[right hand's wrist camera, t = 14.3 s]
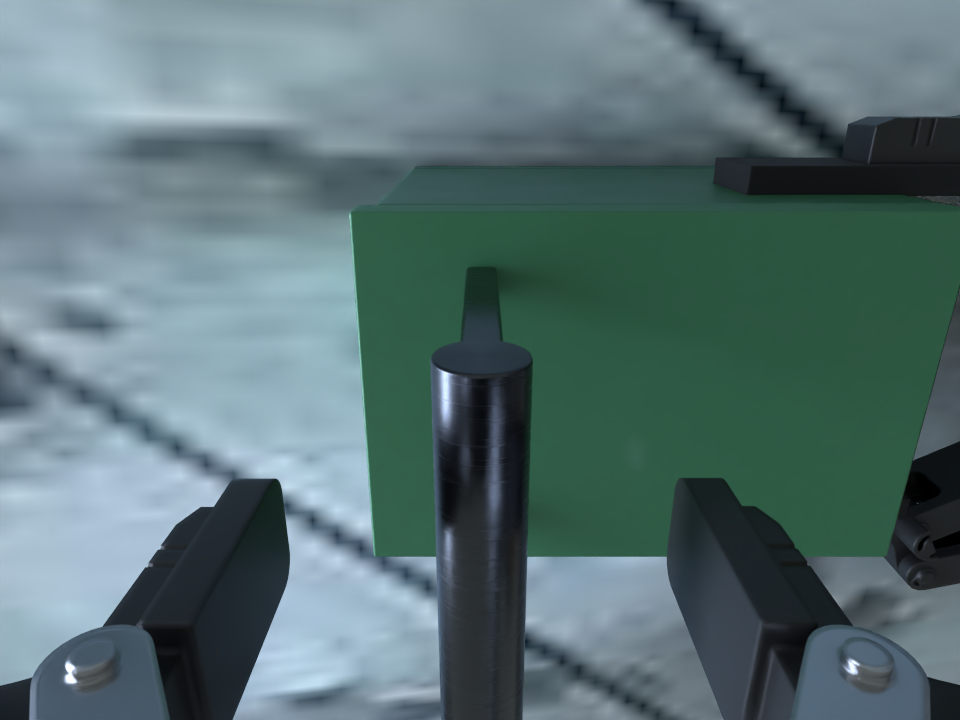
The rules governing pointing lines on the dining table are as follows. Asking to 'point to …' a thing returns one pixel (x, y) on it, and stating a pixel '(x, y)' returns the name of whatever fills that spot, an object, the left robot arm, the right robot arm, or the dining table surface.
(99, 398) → the dining table surface
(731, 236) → the lid
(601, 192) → the chest
